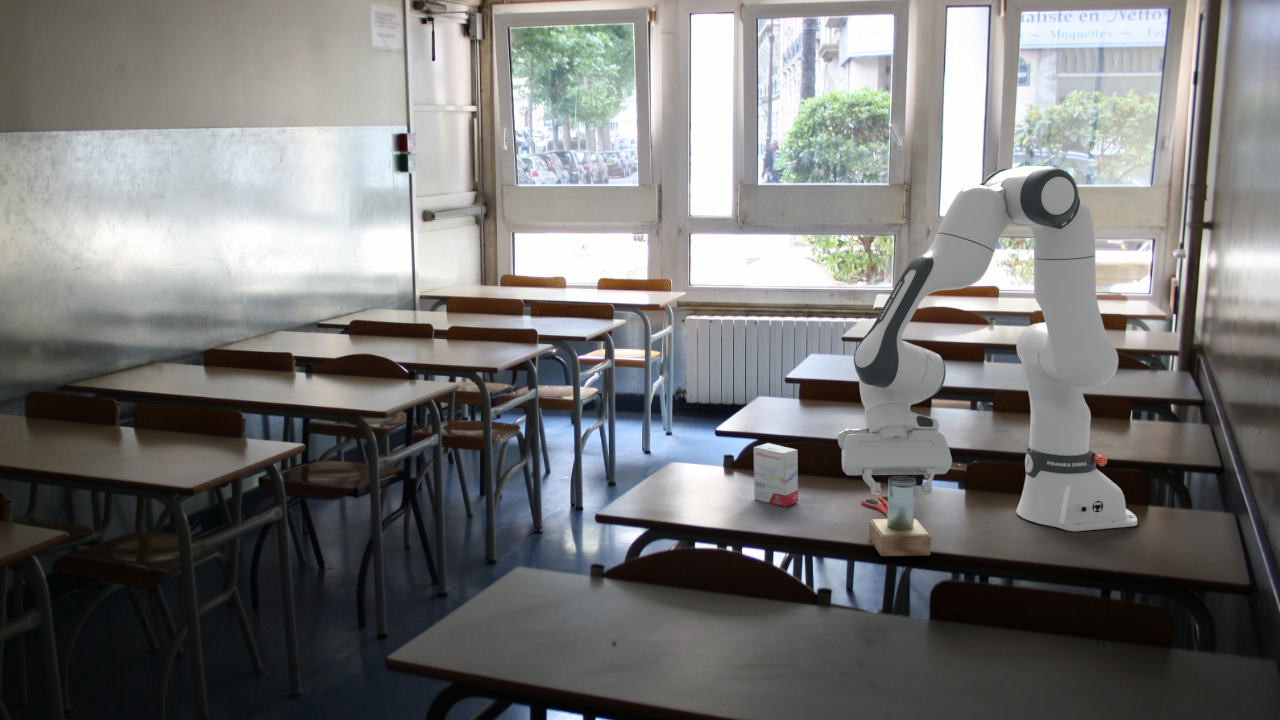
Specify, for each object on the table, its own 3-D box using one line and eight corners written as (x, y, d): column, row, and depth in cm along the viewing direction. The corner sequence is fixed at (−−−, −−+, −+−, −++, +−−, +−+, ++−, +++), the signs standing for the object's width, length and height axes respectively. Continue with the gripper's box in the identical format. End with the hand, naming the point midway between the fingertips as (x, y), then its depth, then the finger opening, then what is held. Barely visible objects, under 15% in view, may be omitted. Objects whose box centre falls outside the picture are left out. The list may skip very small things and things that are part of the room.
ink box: (799, 503, 214) (800, 449, 212) (784, 508, 210) (785, 453, 208) (767, 494, 220) (767, 441, 218) (752, 499, 216) (752, 446, 214)
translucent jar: (909, 521, 189) (911, 475, 188) (917, 530, 185) (919, 483, 183) (883, 522, 189) (885, 476, 188) (890, 531, 184) (892, 484, 183)
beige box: (915, 538, 192) (916, 518, 192) (930, 555, 183) (930, 534, 183) (869, 538, 192) (869, 518, 191) (881, 556, 183) (881, 535, 183)
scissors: (896, 536, 194) (896, 529, 194) (857, 502, 215) (857, 496, 215) (933, 534, 196) (934, 527, 195) (891, 500, 216) (891, 494, 216)
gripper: (839, 420, 190) (849, 485, 182) (946, 419, 191) (960, 484, 183) (833, 437, 196) (843, 501, 188) (938, 436, 196) (951, 500, 188)
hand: (902, 493), depth 185 cm, fingers open, 8 cm apart
